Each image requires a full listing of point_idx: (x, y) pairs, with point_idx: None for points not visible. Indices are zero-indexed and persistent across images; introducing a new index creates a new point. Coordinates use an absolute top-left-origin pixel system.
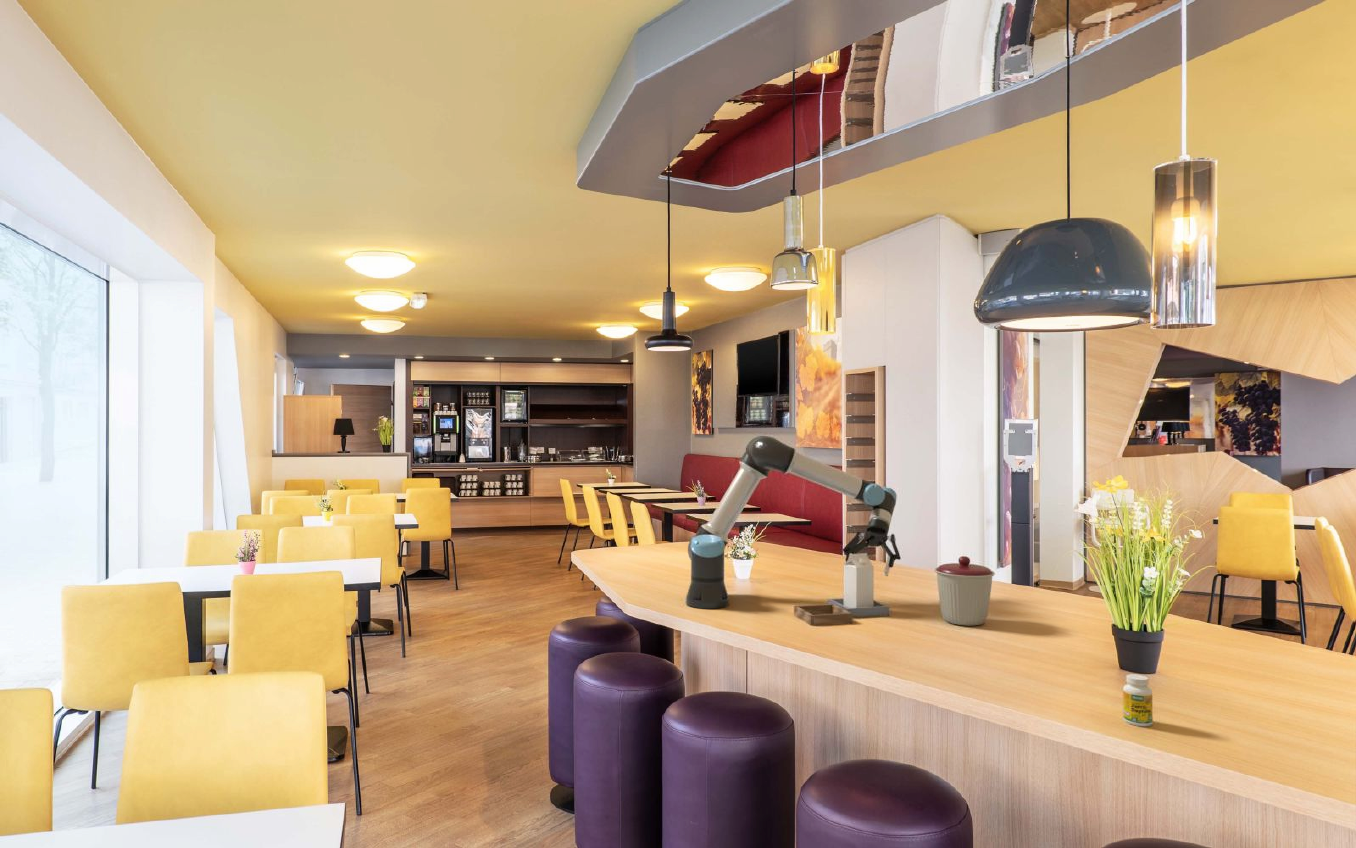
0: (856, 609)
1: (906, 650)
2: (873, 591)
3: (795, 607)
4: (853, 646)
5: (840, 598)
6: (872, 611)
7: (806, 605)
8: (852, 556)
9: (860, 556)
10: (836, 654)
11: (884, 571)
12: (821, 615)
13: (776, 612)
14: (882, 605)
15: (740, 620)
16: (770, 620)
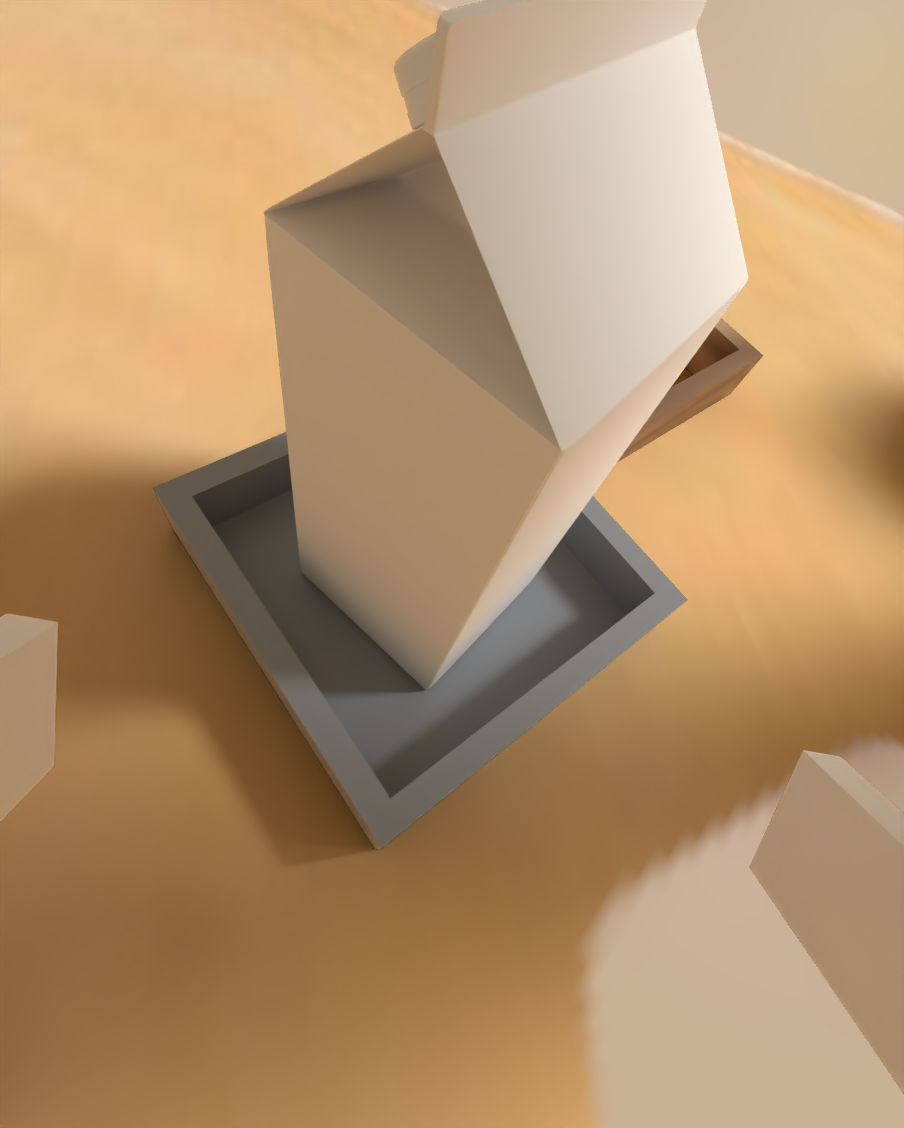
0: None
1: (134, 27)
2: (291, 479)
3: (745, 344)
4: (343, 59)
5: (611, 660)
6: None
7: (715, 380)
8: (671, 2)
9: (554, 59)
10: (384, 10)
11: (47, 620)
12: None
13: (831, 428)
14: (214, 530)
15: (853, 278)
16: (762, 296)
